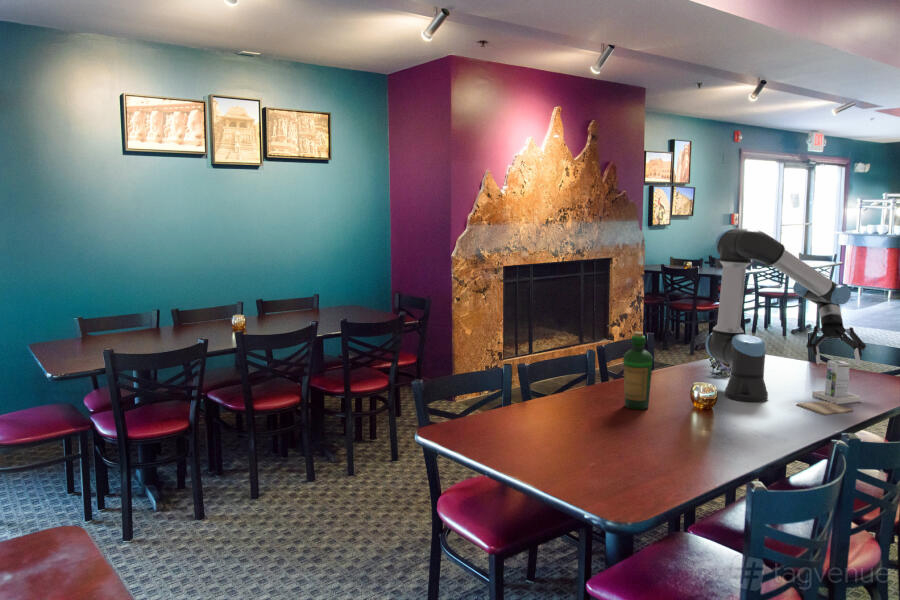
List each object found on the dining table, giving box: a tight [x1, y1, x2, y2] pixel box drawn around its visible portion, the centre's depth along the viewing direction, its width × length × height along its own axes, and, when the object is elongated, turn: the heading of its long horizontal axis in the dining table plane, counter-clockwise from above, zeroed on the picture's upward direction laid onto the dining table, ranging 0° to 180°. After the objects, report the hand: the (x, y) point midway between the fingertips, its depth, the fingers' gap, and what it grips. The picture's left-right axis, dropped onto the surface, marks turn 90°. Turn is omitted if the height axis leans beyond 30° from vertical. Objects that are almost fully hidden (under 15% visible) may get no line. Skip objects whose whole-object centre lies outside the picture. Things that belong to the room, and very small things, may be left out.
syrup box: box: [824, 359, 851, 398], centre depth 243 cm, size 6×6×14 cm
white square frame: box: [811, 389, 862, 405], centre depth 243 cm, size 11×11×2 cm
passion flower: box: [709, 356, 731, 377], centre depth 283 cm, size 11×11×12 cm
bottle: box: [622, 331, 654, 411], centre depth 235 cm, size 11×11×28 cm
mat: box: [796, 400, 854, 416], centre depth 232 cm, size 13×12×1 cm
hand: (838, 363), depth 247 cm, fingers open, 13 cm apart
